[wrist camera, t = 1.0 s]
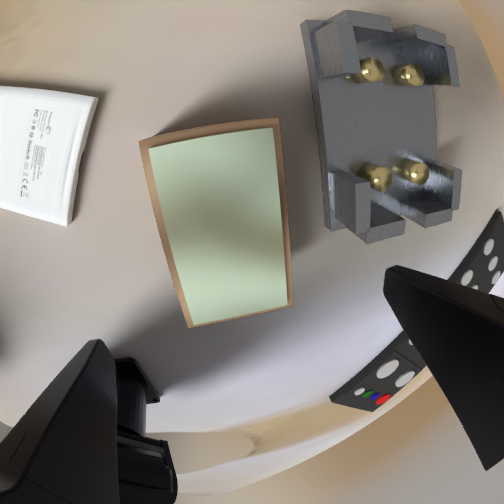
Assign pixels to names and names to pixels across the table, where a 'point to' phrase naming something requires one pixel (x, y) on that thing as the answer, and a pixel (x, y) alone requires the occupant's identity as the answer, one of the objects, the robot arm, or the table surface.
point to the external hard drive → (42, 150)
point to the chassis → (380, 123)
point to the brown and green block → (222, 217)
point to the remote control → (401, 348)
